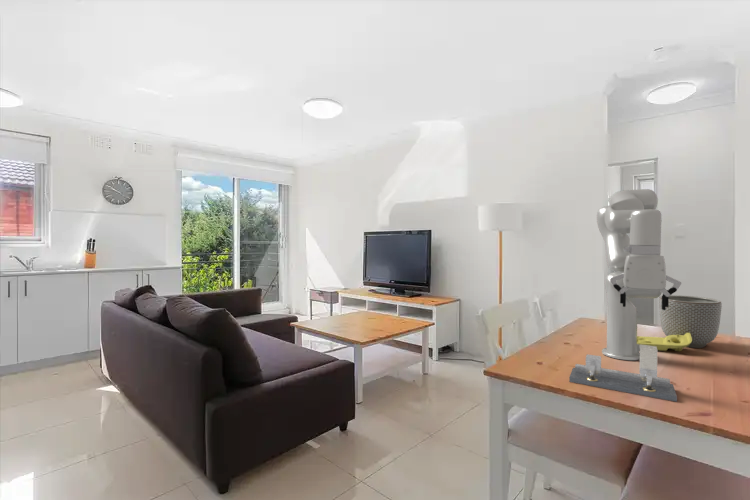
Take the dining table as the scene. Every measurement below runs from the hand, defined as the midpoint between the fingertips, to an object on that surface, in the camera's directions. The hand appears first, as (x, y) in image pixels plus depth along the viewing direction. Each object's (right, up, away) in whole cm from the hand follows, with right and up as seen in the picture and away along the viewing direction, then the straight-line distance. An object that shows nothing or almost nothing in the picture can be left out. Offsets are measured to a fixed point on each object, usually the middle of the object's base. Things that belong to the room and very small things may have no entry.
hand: (643, 307), depth 111 cm
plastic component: (+33, -23, +37) cm, 54 cm away
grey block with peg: (-1, -22, -4) cm, 22 cm away
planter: (+49, -22, +42) cm, 68 cm away
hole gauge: (-7, -24, 0) cm, 25 cm away
